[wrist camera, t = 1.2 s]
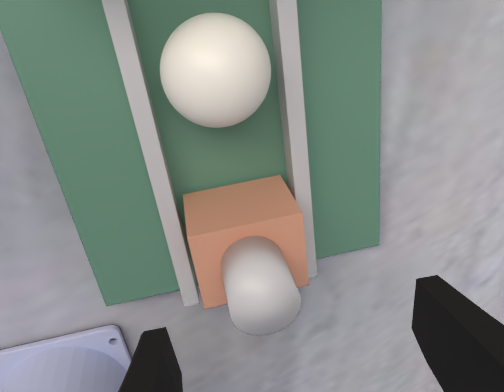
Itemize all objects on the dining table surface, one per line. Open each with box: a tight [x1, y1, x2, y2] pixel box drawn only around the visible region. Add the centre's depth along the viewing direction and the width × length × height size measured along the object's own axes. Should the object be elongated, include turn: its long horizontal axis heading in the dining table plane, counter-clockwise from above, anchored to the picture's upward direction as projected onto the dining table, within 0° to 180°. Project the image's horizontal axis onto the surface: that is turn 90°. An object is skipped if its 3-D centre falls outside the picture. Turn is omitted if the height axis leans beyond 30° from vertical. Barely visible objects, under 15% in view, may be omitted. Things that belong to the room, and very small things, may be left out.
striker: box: [183, 175, 309, 336], centre depth 20 cm, size 4×5×7 cm
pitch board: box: [0, 0, 381, 307], centre depth 20 cm, size 22×16×2 cm
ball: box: [160, 13, 271, 128], centre depth 18 cm, size 4×4×4 cm
